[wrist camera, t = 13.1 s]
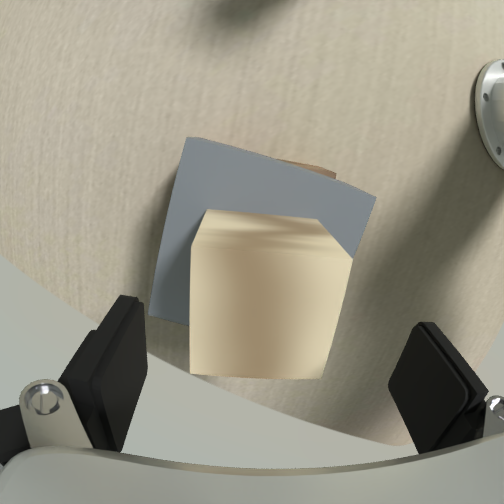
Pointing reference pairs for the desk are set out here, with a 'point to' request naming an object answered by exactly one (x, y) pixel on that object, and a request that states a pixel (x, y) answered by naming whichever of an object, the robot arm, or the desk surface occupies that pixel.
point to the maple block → (264, 295)
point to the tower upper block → (244, 209)
